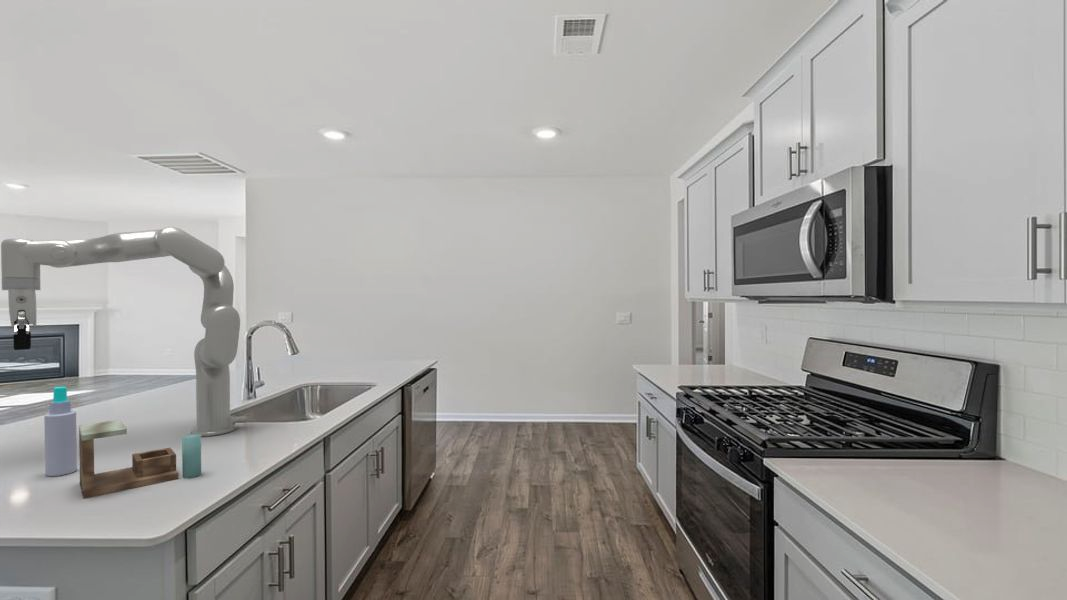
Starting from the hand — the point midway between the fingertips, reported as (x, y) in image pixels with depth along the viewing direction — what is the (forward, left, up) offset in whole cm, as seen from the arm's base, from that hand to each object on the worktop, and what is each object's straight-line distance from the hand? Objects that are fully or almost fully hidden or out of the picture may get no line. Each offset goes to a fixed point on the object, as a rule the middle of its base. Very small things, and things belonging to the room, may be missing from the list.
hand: (22, 347), depth 142 cm
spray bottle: (-7, +18, -31) cm, 37 cm away
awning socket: (-19, +37, -31) cm, 52 cm away
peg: (-31, +43, -31) cm, 62 cm away
